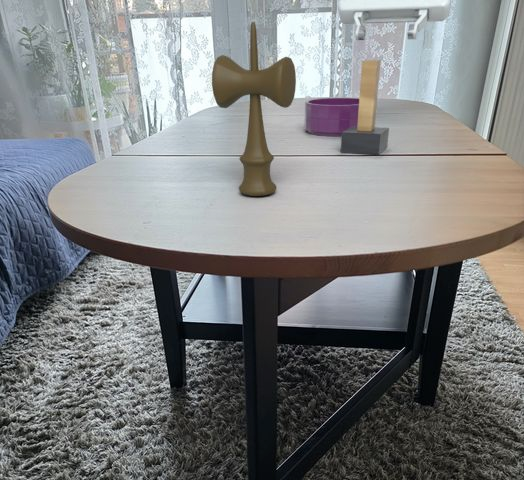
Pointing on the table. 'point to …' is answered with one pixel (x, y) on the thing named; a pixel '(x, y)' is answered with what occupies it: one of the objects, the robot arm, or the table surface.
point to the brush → (366, 116)
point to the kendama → (254, 108)
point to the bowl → (331, 115)
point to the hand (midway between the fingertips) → (385, 37)
